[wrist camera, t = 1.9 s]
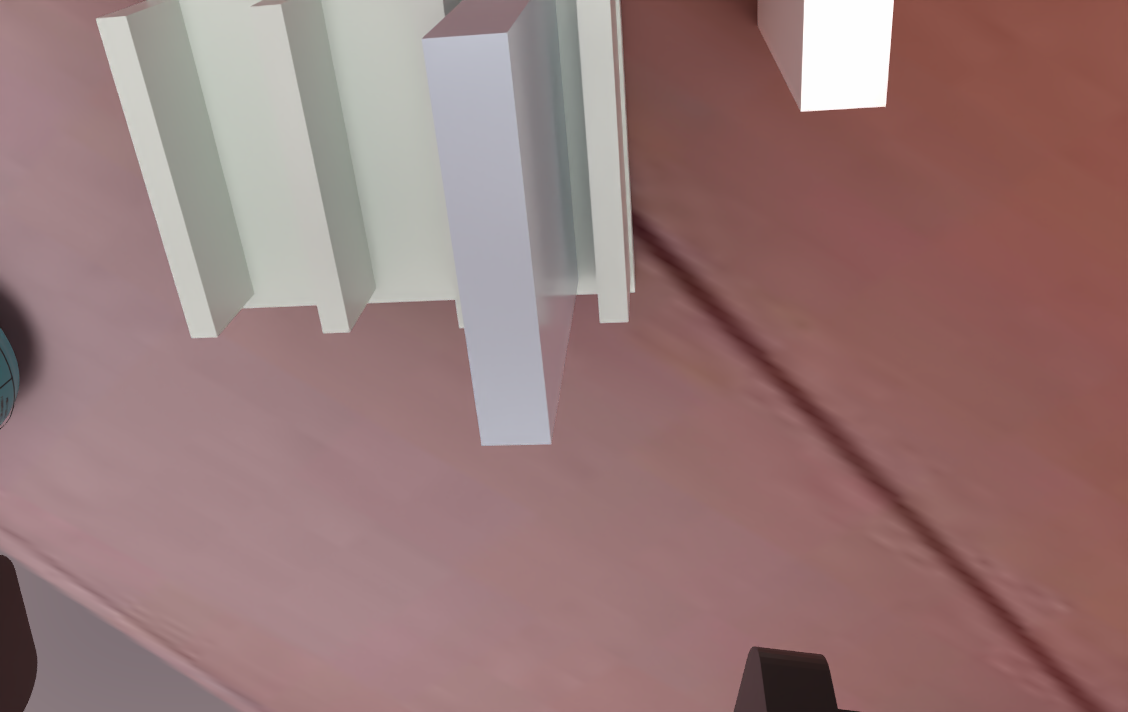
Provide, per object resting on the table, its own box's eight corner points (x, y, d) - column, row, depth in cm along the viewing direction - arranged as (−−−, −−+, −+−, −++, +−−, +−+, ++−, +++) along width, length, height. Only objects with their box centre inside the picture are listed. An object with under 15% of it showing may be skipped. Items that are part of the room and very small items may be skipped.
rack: (154, -24, 27) (85, -3, 24) (617, -62, 26) (611, -45, 22) (240, 298, 32) (193, 353, 29) (635, 281, 31) (633, 338, 27)
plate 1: (552, -33, 26) (506, 32, 18) (578, 279, 30) (551, 444, 22) (492, -29, 26) (421, 39, 18) (527, 282, 30) (481, 445, 22)
